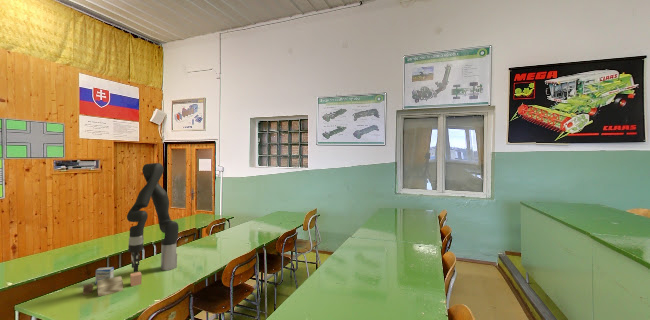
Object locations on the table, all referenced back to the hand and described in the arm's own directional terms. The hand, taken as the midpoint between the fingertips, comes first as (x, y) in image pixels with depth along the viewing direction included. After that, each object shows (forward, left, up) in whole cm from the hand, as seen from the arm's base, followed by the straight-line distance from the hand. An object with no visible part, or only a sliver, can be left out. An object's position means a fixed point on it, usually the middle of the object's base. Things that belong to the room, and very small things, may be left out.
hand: (134, 269), depth 165 cm
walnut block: (+21, -4, -9) cm, 23 cm away
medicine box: (+13, -14, -9) cm, 21 cm away
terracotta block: (-1, 0, -9) cm, 9 cm away
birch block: (+12, 0, -9) cm, 15 cm away
